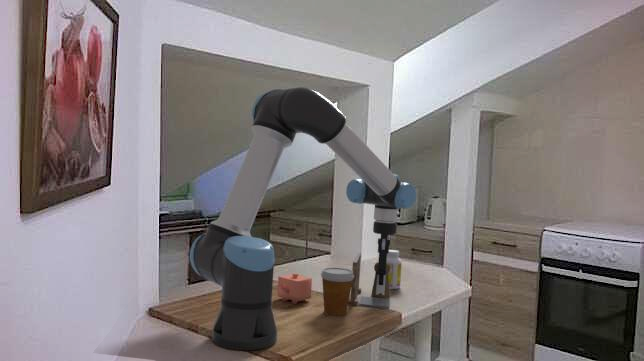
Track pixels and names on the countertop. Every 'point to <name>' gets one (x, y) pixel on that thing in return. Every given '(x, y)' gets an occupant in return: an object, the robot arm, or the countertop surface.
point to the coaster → (374, 302)
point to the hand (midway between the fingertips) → (380, 292)
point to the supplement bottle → (394, 269)
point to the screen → (355, 280)
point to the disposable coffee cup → (336, 290)
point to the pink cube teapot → (294, 287)
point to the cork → (387, 293)
